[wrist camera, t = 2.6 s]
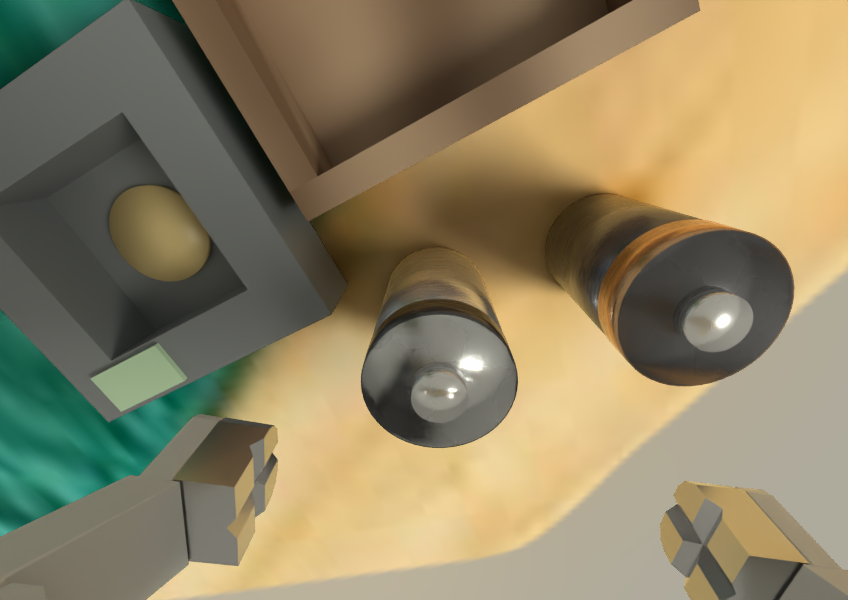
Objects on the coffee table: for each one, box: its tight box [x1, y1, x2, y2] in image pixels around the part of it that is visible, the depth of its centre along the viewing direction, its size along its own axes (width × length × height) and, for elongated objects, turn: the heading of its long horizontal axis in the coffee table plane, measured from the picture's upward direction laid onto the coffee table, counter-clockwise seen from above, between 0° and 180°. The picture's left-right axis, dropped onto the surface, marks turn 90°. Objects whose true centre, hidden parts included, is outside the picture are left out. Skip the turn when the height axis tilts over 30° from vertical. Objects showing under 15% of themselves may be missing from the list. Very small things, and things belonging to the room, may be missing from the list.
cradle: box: [0, 0, 348, 422], centre depth 14 cm, size 10×10×3 cm
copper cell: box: [545, 194, 794, 386], centre depth 12 cm, size 4×4×7 cm
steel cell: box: [361, 247, 518, 448], centre depth 13 cm, size 4×4×7 cm
